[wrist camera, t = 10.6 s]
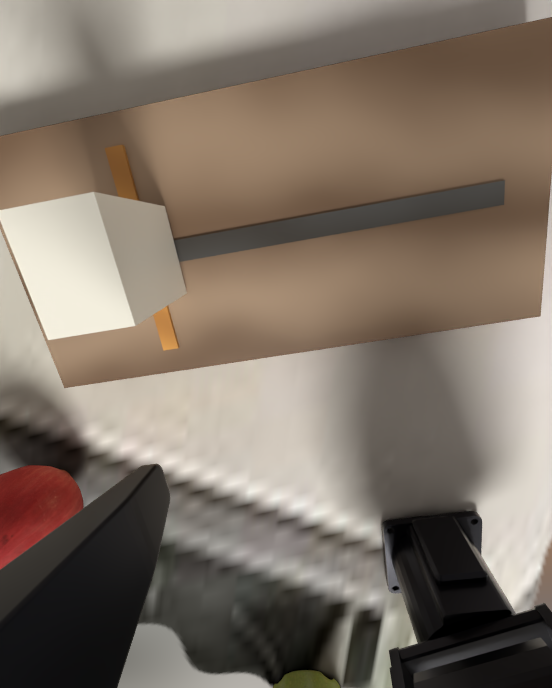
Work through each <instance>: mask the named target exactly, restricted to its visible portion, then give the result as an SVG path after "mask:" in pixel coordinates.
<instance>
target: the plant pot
mask: <svg viewBox="0 0 552 688" xmlns="http://www.w3.org/2000/svg"><path fill="white" fill-rule="evenodd" d="M273 688H341V687H340V685H339V684H338V682H337V681H336V680H335V679H332V680H330V679H328V678H326V677H325V676H324V675H323V674H322V673H321V672H319V671H314V670H299V671H293V672H290V673H288V674H285V675H284V677H283V678H282V680H281V681H280V682H279V683H278V684H274V686H273Z"/></svg>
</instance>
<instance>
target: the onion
mask: <svg viewBox="0 0 552 688" xmlns="http://www.w3.org/2000/svg"><path fill="white" fill-rule="evenodd" d="M82 509H83V499H82V495H81V491H80V489H79V487H78V485H77V483H76V482H75V481H74V479H73V478H72V477H71V475H70V474H69V473H68V472H67V471H65V470H61V469H57V468H54V467H51V466H38V465H28V466H24V467H21V468H18V469H15V470H12V471H9V472H6V473H3V474H1V475H0V569H2V568H3V567H4V566H6V565H7V564H8V563H10V562H11V561H13V560H14V559H15V558H17V557H18V556H19V555H21V554H22V553H23V552H25V551H26V550H27V549H29V548H30V547H32V546H33V545H34V544H36V543H37V542H38V541H40V540H41V539H42V538H44V537H45V536H47V535H48V534H49V533H51V532H52V531H53V530H55V529H56V528H57V527H59V526H60V525H62V524H63V523H64V522H66V521H67V520H68V519H70V518H71V517H72V516H74V515H75V514H76V513H78V512H79V511H81V510H82Z"/></svg>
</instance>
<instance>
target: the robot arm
mask: <svg viewBox="0 0 552 688" xmlns="http://www.w3.org/2000/svg"><path fill="white" fill-rule="evenodd" d="M169 504H170V491H169V488H168V485H167V482H166V479H165V476H164V473H163V470H162V468H161V466H160V465H159V464H151V465H143V466H141V467H139V468H138V469H136V470H135V471H134V472H132V473H131V474H130V475H128V476H127V477H125V478H124V479H123V480H121V481H120V482H119V483H117V484H116V485H115V486H113V487H112V488H111V489H109V490H108V491H106V492H105V493H104V494H102V495H101V496H100V497H98V498H97V499H96V500H94V501H93V502H91V503H90V504H89V505H87V506H86V507H85V508H83V509H82V510H81V511H79V512H78V513H76V514H75V515H74V516H72V517H71V518H70V519H68V520H67V521H66V522H64V523H63V524H62V525H60V526H59V527H57V528H56V529H55V530H53V531H52V532H51V533H49V534H48V535H47V536H45V537H44V538H42V539H41V540H40V541H38V542H37V543H36V544H34V545H33V546H32V547H30V548H29V549H27V550H26V551H25V552H23V553H22V554H21V555H19V556H18V557H17V558H15V559H14V560H13V561H11V562H10V563H8V564H7V565H6V566H4V567H3V568H2V569H0V688H117V687H118V683H119V680H120V677H121V674H122V671H123V668H124V665H125V662H126V659H127V655H128V652H129V649H130V646H131V643H132V640H133V637H134V634H135V630H136V627H137V624H138V621H139V618H140V615H141V612H142V609H143V606H144V603H145V599H146V596H147V593H148V590H149V587H150V584H151V581H152V577H153V574H154V571H155V567H156V563H157V559H158V554H159V550H160V545H161V541H162V536H163V531H164V527H165V522H166V517H167V513H168V508H169ZM472 519H473V520H472ZM389 528H390V529H389ZM382 533H383V544H384V555H385V566H386V577H387V585H388V588H389V591H390V592H391V593H402V595H403V599H404V602H405V605H406V608H407V611H408V614H409V617H410V620H411V623H412V627H413V630H414V633H415V636H416V639H417V642H418V644H415V645H411V646H408V647H405V648H402V649H399V648H398V647H397V648H394V649H391V650H389V654H390V660H391V666H392V667H391V668H390V674H391V680H392V686H393V688H552V612H551V611H550V609H549V608H548V607H547V606H546V604H545V603H543V604H539V605H536V606H534V609H531V610H527V611H524V612H521V613H517V614H516V613H515V611H514V609H513V608H512V606H511V604H510V603H509V601H508V599H507V598H506V596H505V594H504V593H503V591H502V589H501V588H500V586H499V585H498V583H497V581H496V580H495V578H494V576H493V575H492V573H491V571H490V570H489V568H488V566H487V565H486V563H485V561H484V560H483V558H482V556H481V542H482V519H481V517H480V516H479V514H478V513H477V512H474V511H469V512H460V513H451V514H442V515H433V516H424V517H415V518H406V519H396V520H388V521H385V522H384V523H383V524H382Z"/></svg>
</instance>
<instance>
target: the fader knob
mask: <svg viewBox="0 0 552 688" xmlns="http://www.w3.org/2000/svg"><path fill="white" fill-rule="evenodd" d="M0 222H1V224H2V227H3V229H4V232H5V234H6V237H7V239H8V242H9V244H10V247H11V249H12V252H13V254H14V257H15V259H16V262H17V264H18V266H19V269H20V271H21V274H22V276H23V279H24V281H25V284H26V286H27V289H28V291H29V294H30V296H31V299H32V301H33V304H34V306H35V309H36V311H37V314H38V316H39V319H40V321H41V324H42V326H43V329H44V331H45V334H46V336H47V339H48V340H53V339H59V338H65V337H71V336H77V335H83V334H89V333H96V332H102V331H108V330H114V329H120V328H126V327H132V326H136V325H138V324H139V323H141V322H142V321H144V320H146V319H147V318H149V317H150V316H152V315H153V314H155V313H157V312H158V311H160V310H161V309H163V308H164V307H166V306H168V305H169V304H171V303H172V302H174V301H175V300H177V299H179V298H180V297H182V296H183V295H185V294H186V293H187V291H186V287H185V284H184V280H183V276H182V272H181V268H180V264H179V260H178V256H177V252H176V248H175V244H174V240H173V236H172V232H171V228H170V224H169V221H168V217H167V213H166V209H165V206H161V205H156V204H151V203H146V202H141V201H136V200H132V199H127V198H122V197H117V196H112V195H107V194H102V193H97V192H90V193H85V194H80V195H75V196H70V197H65V198H60V199H55V200H50V201H44V202H39V203H34V204H29V205H24V206H19V207H14V208H9V209H4V210H0Z"/></svg>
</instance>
